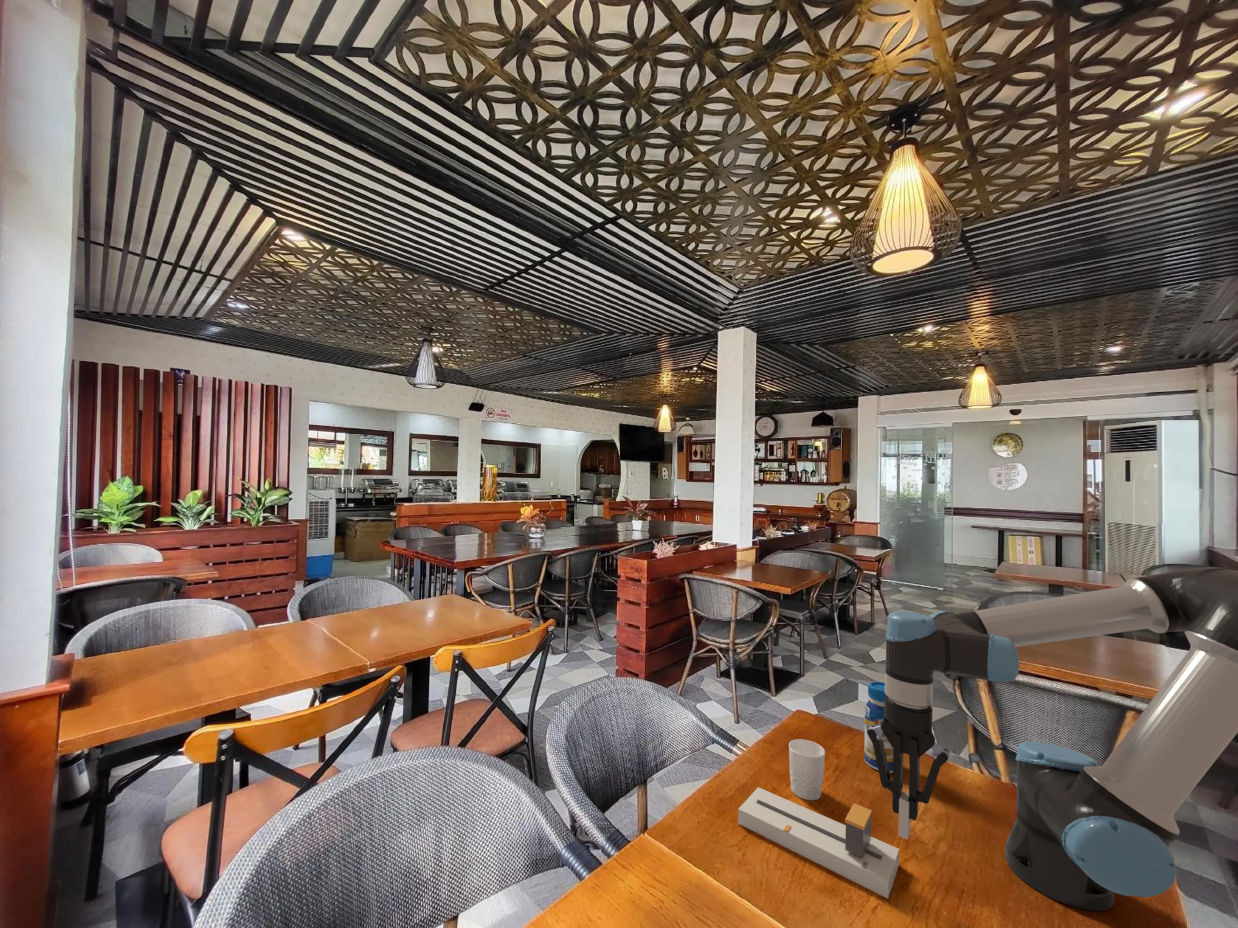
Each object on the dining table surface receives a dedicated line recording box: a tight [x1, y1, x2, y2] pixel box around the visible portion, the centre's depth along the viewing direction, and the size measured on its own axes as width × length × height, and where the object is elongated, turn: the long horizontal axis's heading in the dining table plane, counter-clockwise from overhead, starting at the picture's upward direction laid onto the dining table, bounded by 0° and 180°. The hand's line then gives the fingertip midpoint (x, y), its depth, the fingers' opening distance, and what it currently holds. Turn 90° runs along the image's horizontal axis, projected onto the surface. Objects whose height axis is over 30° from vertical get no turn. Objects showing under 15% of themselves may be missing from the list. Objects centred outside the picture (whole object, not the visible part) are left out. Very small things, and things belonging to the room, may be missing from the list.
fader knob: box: [844, 802, 873, 858], centre depth 93 cm, size 3×6×6 cm, turn 141°
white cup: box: [788, 738, 826, 801], centre depth 115 cm, size 8×8×10 cm
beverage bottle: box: [863, 681, 893, 774], centre depth 127 cm, size 8×8×20 cm
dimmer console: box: [737, 786, 900, 899], centre depth 98 cm, size 28×10×3 cm, turn 51°
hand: (904, 833), depth 88 cm, fingers closed
